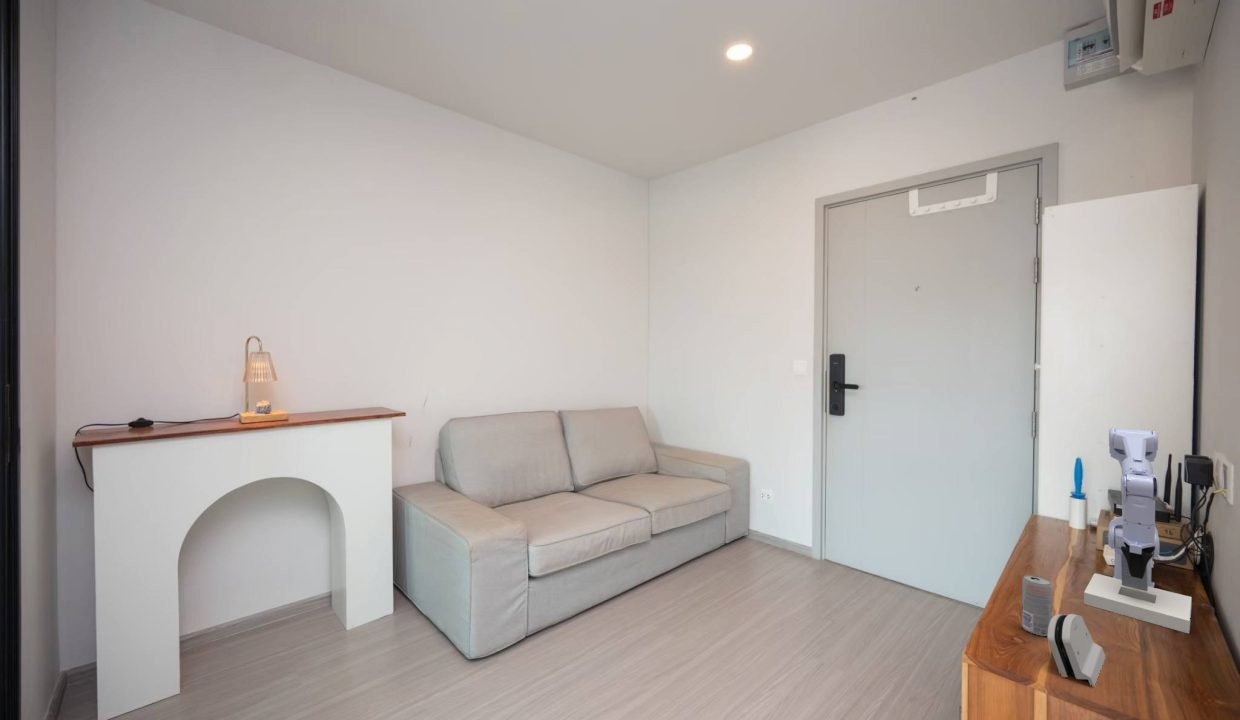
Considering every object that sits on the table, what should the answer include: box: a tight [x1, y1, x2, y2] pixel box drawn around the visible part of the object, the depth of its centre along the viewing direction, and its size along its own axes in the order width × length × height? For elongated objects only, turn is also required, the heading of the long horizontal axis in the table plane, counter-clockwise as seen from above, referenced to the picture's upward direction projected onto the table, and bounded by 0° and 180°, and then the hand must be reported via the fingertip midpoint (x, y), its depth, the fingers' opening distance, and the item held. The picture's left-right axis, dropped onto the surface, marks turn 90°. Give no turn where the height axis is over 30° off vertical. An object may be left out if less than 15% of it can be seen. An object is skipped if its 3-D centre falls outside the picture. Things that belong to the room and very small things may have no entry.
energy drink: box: [1021, 574, 1053, 637], centre depth 116 cm, size 5×5×12 cm
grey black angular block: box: [1047, 613, 1107, 687], centre depth 104 cm, size 17×5×10 cm, turn 130°
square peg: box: [1121, 552, 1149, 591], centre depth 128 cm, size 4×4×8 cm
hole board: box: [1083, 572, 1192, 634], centre depth 128 cm, size 18×18×3 cm
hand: (1137, 574), depth 128 cm, fingers closed on square peg, 4 cm apart
